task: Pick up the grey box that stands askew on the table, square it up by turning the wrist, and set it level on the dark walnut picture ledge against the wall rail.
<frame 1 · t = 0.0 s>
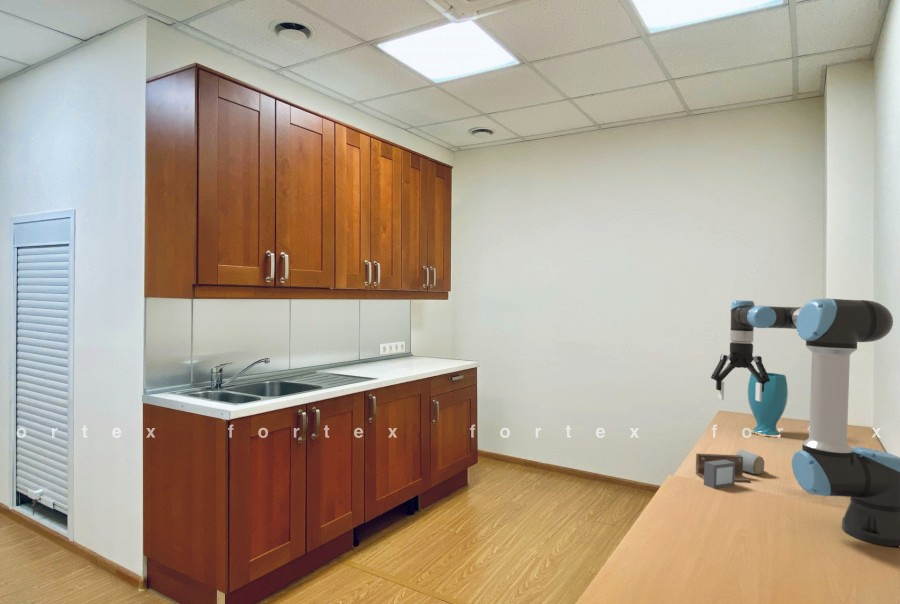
hand: (739, 400, 198), 28 cm above the table, fingers open, 13 cm apart
vase: (766, 434, 270), on the table
grey box: (719, 485, 188), on the table
wall rail: (718, 475, 198), on the table
ceramic mug: (750, 472, 205), on the table
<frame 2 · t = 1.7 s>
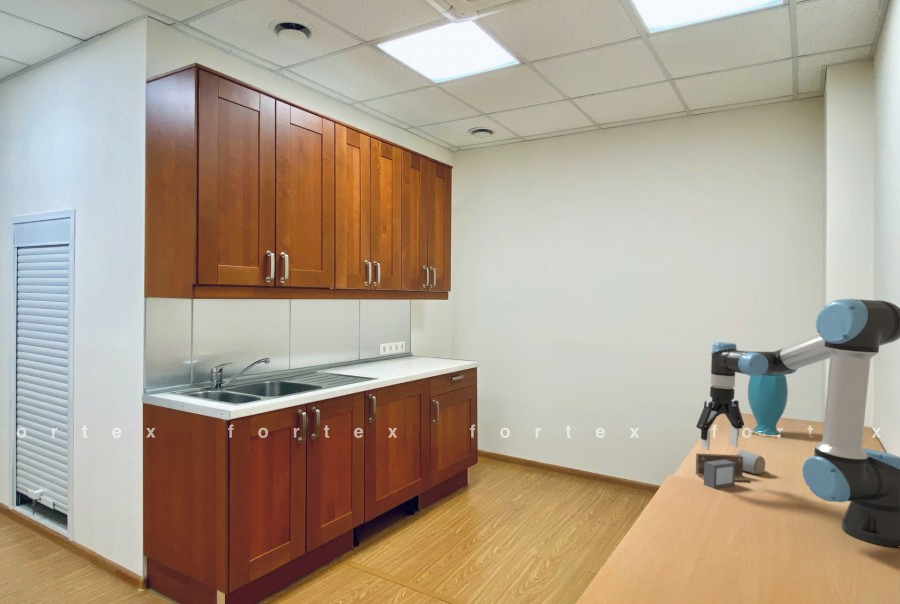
hand: (719, 447, 188), 13 cm above the table, fingers open, 13 cm apart
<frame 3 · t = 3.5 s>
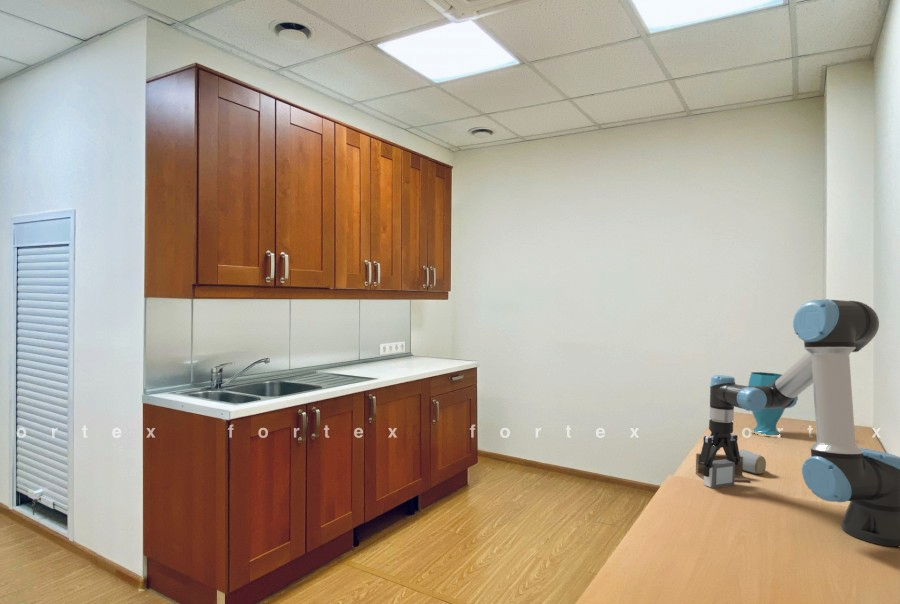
hand: (719, 484, 188), 0 cm above the table, fingers closed on grey box, 10 cm apart
grey box: (719, 485, 188), on the table, touching gripper
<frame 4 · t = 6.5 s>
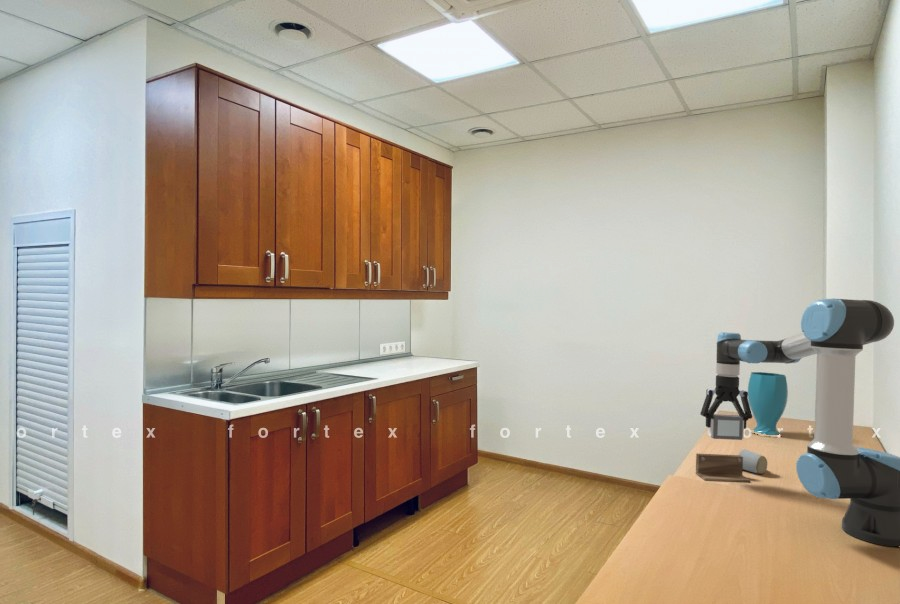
hand: (725, 437, 195), 15 cm above the table, fingers closed on grey box, 10 cm apart
grey box: (725, 437, 195), point 15 cm above the table, touching gripper
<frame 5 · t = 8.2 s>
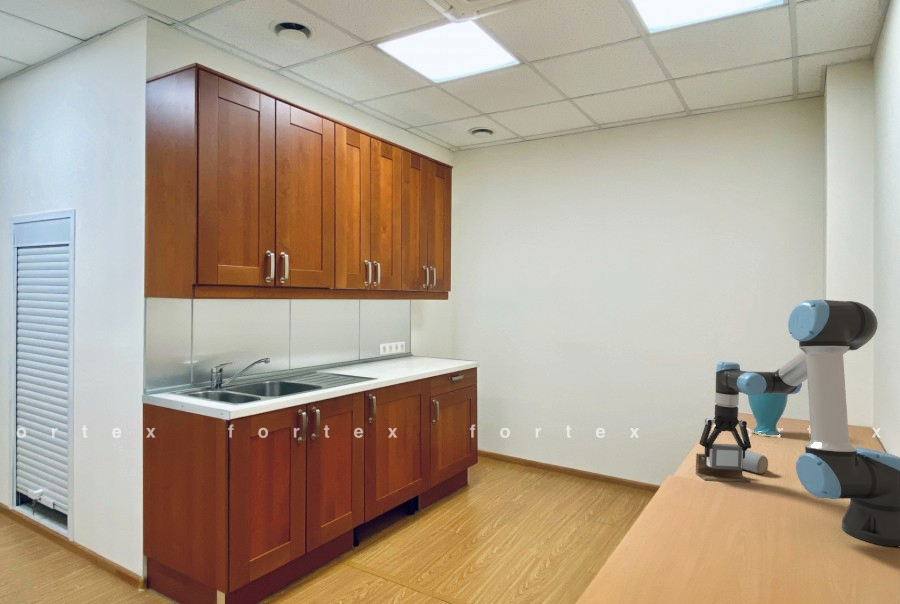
hand: (724, 466, 195), 4 cm above the table, fingers closed on grey box, 10 cm apart
grey box: (724, 467, 195), point 4 cm above the table, touching gripper
when the fingers open (2 cm above the table, at t = 9.6 s): grey box drops 1 cm, resting on wall rail.
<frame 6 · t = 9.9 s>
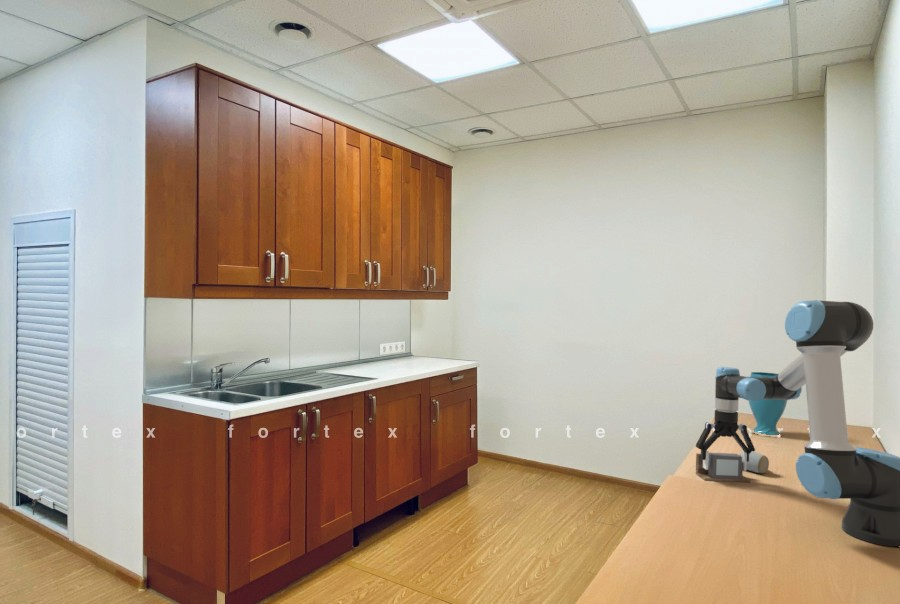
hand: (724, 469, 194), 3 cm above the table, fingers open, 13 cm apart
grey box: (724, 476, 194), point 1 cm above the table, touching wall rail
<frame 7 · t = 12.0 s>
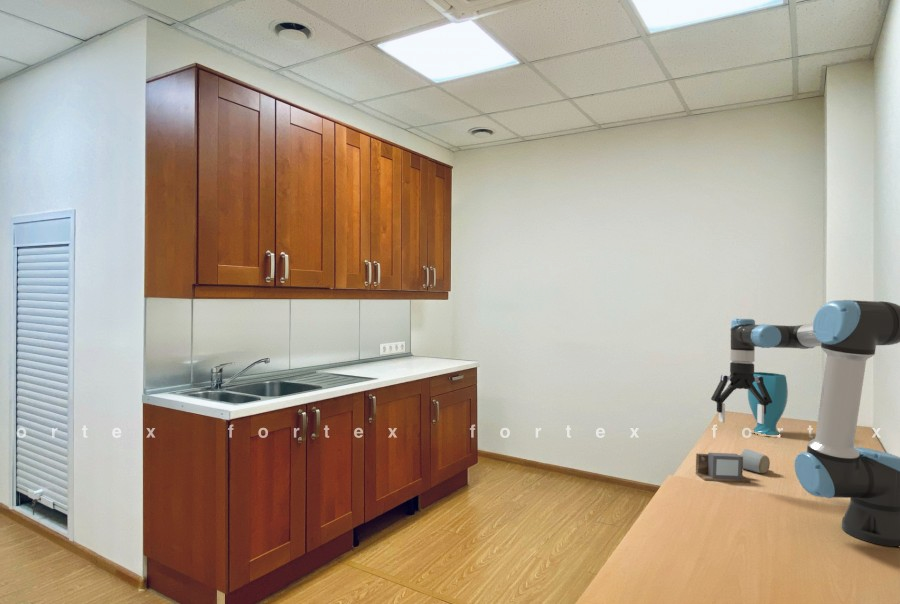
hand: (741, 422, 190), 21 cm above the table, fingers open, 13 cm apart
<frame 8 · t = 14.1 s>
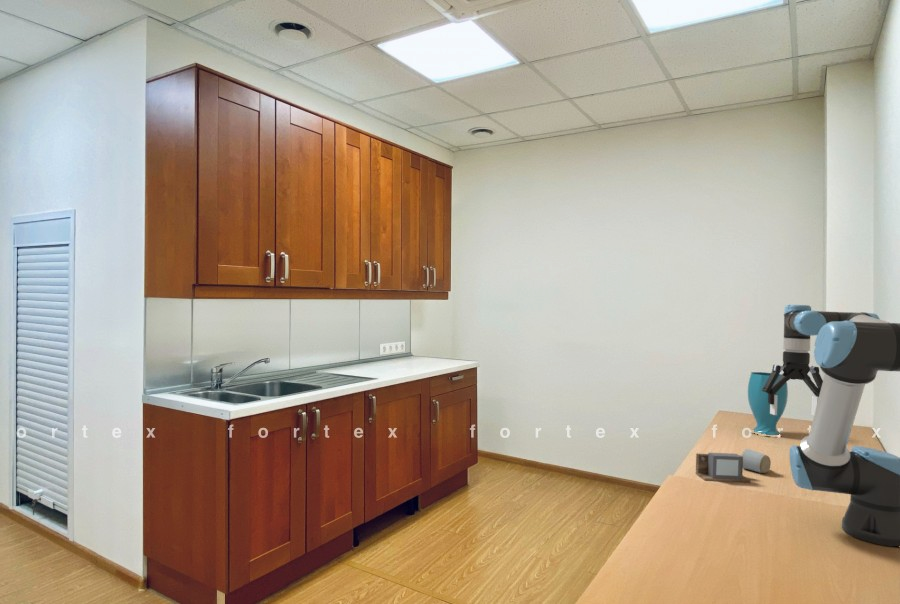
hand: (794, 415, 179), 27 cm above the table, fingers open, 13 cm apart
at the end: grey box inside the target area on the wall rail (0.2 cm from its centre), point 0.8 cm above the wall rail's base; grey box tilted 0°; the gripper is holding nothing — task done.
